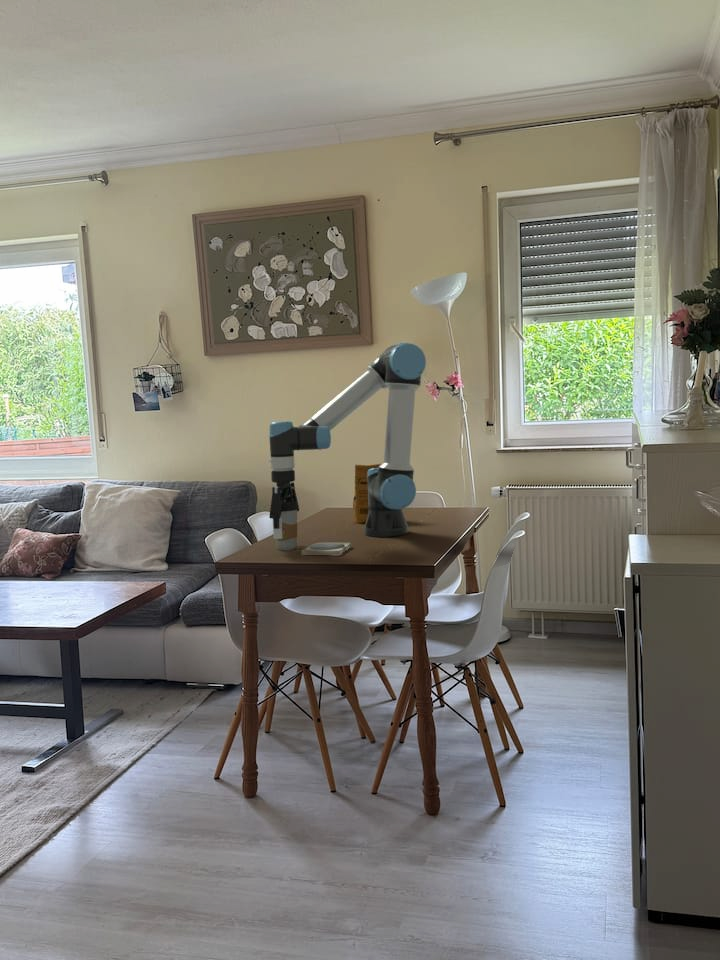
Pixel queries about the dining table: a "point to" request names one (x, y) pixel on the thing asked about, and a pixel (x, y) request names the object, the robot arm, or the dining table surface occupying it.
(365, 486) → the coffee package
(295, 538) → the coffee cup
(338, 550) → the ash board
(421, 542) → the dining table surface
